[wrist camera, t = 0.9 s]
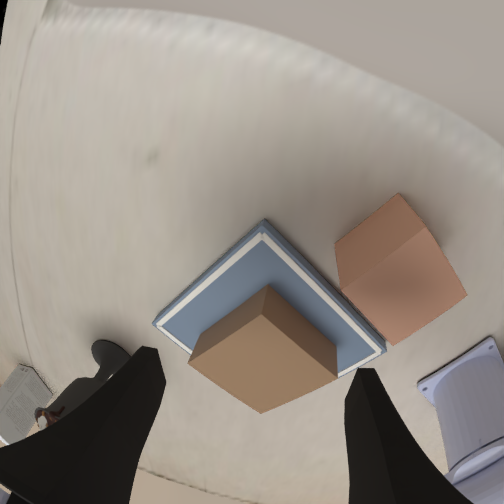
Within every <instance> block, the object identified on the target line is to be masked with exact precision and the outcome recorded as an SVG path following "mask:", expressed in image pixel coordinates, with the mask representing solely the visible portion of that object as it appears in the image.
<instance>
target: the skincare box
mask: <svg viewBox="0 0 504 504" xmlns="http://www.w3.org/2000/svg"><path fill="white" fill-rule="evenodd" d="M52 396H53V394H52V393H51V392H50V391H49V389H48V388H47V387H46V386H45V384H44V383H43V382H42V380H41V379H40V378H39V376H38V375H37V374H36V372H35V371H34V370H33V368H30V367H26V366H23V365H20V364H19V365H18V366H17V367H16V368H15V369H14V371H13V372H12V373H11V375H10V376H9V377H8V378H7V380H6V381H5V382H4V384H3V385H2V386H1V388H0V440H1V441H2V442H3V443H5V444H6V445H10V444H12V443H15V442H18V441H20V440H22V439H25V438H26V436H27V434H28V433H29V431H30V429H31V428H32V426H33V425H34V423H35V422H36V419H35V415H34V413H35V410H36V408H37V407H41V408H45V406H46V405H47V403H48V402H49V400H50V399H51V397H52Z"/></svg>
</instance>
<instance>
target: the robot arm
mask: <svg viewBox="0 0 504 504" xmlns="http://www.w3.org/2000/svg"><path fill="white" fill-rule="evenodd" d="M165 386H166V379H165V376H164V372H163V368H162V365H161V361H160V358H159V354H158V350H157V349H156V348H151V347H146V346H142V347H140V348H139V349H138V350H137V351H136V352H135V353H134V354H133V355H132V356H131V357H130V358H129V360H128V361H127V362H126V363H125V364H124V365H123V366H122V367H121V368H120V369H119V370H118V371H117V372H116V373H115V374H114V375H113V376H112V377H111V378H109V379H108V380H107V381H106V382H105V383H104V384H103V385H102V386H101V387H100V388H99V389H98V390H97V391H95V392H94V393H93V394H92V395H91V396H90V397H89V398H87V399H86V400H85V401H84V402H83V403H81V404H80V405H79V406H78V407H76V408H75V409H74V410H72V411H71V412H70V413H68V414H67V415H65V416H64V417H62V418H61V419H59V420H58V421H56V422H55V423H53V424H51V425H50V426H48V427H46V428H45V429H43V430H41V431H39V432H37V433H35V434H33V435H31V436H29V437H27V438H25V439H22V440H20V441H18V442H15V443H12V444H10V445H7V446H4V447H1V448H0V484H2V485H3V486H5V487H6V488H7V489H9V490H10V491H12V492H11V494H8V493H7V492H5V491H4V490H2V489H1V488H0V504H129V501H130V496H131V491H132V486H133V482H134V477H135V473H136V469H137V465H138V462H139V458H140V455H141V452H142V450H143V447H144V445H145V442H146V440H147V437H148V435H149V432H150V430H151V427H152V425H153V422H154V420H155V417H156V415H157V412H158V410H159V407H160V405H161V401H162V397H163V393H164V390H165ZM417 388H418V390H419V391H420V392H421V393H422V394H423V395H424V396H425V397H426V398H427V399H428V400H429V401H430V402H431V403H432V404H433V406H434V407H435V408H436V411H437V415H438V420H439V424H440V428H441V433H442V438H443V443H444V448H445V453H446V458H447V464H448V470H449V473H447V474H445V475H444V476H443V474H442V473H441V472H440V471H439V470H438V469H437V468H436V467H435V466H434V464H433V463H432V462H431V461H430V459H429V458H428V457H427V456H426V454H425V453H424V452H423V450H422V449H421V448H420V446H419V445H418V443H417V442H416V441H415V439H414V438H413V436H412V435H411V433H410V431H409V430H408V428H407V427H406V425H405V424H404V422H403V420H402V419H401V417H400V415H399V413H398V412H397V410H396V408H395V406H394V405H393V403H392V401H391V399H390V397H389V395H388V394H387V392H386V390H385V388H384V386H383V384H382V382H381V380H380V378H379V376H378V374H377V372H376V370H375V369H374V368H358V369H357V371H356V374H355V376H354V379H353V381H352V384H351V386H350V389H349V391H348V393H347V396H346V398H345V413H344V425H345V435H346V445H347V455H348V465H349V481H350V487H349V504H504V363H503V360H502V358H501V355H500V353H499V350H498V348H497V346H496V343H495V341H494V339H493V338H492V337H489V338H487V339H486V340H484V341H483V342H482V343H480V344H479V345H477V346H476V347H474V348H473V349H472V350H470V351H469V352H467V353H466V354H464V355H463V356H461V357H460V358H458V359H457V360H455V361H453V362H452V363H450V364H449V365H447V366H445V367H444V368H442V369H441V370H439V371H437V372H436V373H434V374H432V375H431V376H429V377H427V378H425V379H424V380H422V381H420V382H419V383H418V384H417Z"/></svg>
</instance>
